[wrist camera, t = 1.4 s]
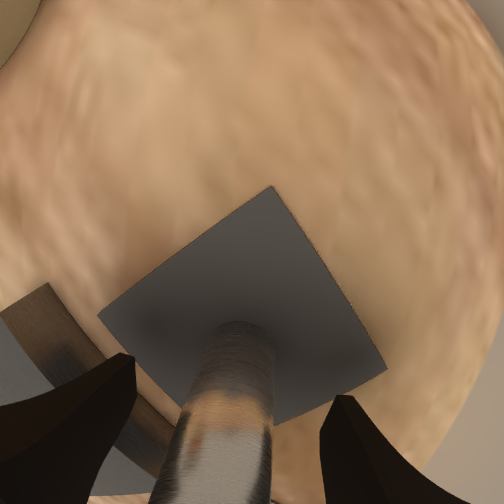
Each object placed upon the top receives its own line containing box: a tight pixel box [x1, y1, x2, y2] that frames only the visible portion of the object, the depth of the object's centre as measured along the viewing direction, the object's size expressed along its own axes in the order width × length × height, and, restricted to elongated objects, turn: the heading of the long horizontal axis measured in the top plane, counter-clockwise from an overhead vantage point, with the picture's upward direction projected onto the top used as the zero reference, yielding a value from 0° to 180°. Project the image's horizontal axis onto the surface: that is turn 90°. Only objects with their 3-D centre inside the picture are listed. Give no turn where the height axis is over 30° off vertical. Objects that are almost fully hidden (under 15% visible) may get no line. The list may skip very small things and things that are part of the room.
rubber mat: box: [97, 186, 388, 426], centre depth 13 cm, size 10×10×1 cm
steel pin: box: [148, 321, 275, 504], centre depth 8 cm, size 3×3×10 cm
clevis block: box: [0, 283, 175, 496], centre depth 15 cm, size 12×20×4 cm, turn 125°
